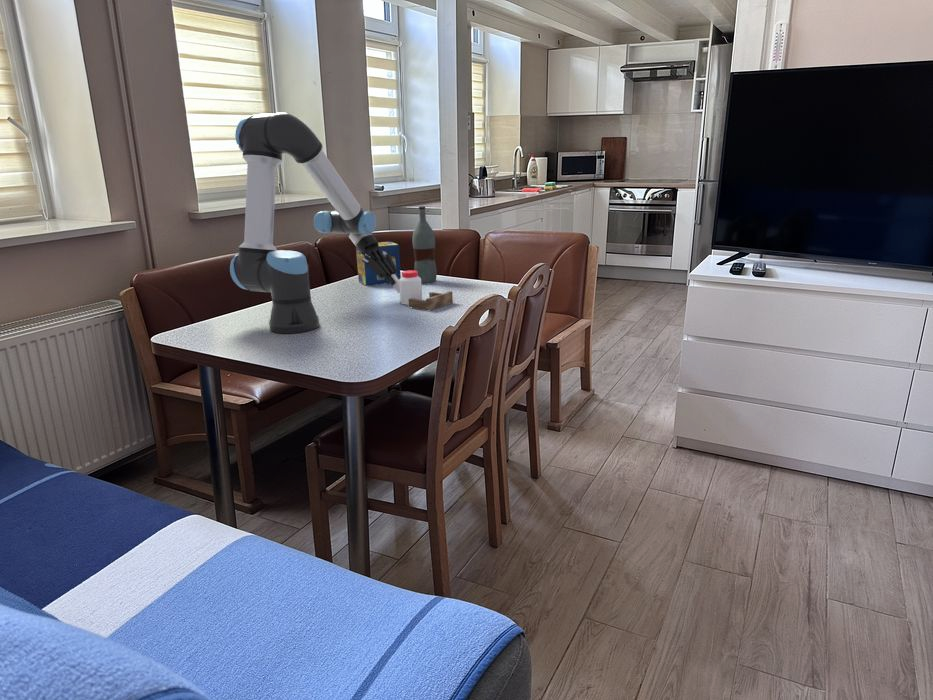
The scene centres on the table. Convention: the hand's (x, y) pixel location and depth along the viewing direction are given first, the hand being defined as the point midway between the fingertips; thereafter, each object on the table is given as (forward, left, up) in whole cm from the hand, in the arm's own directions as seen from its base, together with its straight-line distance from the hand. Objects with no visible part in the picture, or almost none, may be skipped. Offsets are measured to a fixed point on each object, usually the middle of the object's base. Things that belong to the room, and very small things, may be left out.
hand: (401, 290), depth 235 cm
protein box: (+28, +27, -4) cm, 39 cm away
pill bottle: (-2, -5, -4) cm, 6 cm away
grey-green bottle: (+33, +8, -4) cm, 34 cm away
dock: (-3, -13, -4) cm, 14 cm away
